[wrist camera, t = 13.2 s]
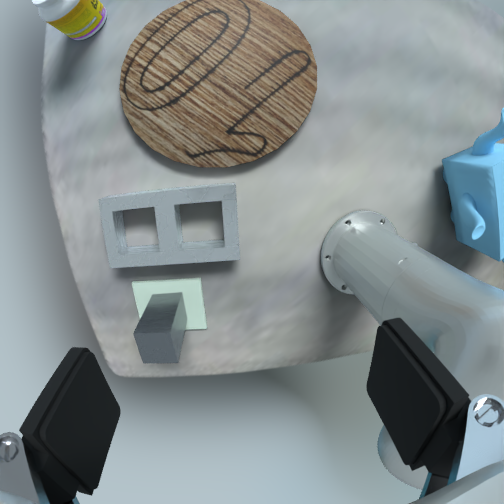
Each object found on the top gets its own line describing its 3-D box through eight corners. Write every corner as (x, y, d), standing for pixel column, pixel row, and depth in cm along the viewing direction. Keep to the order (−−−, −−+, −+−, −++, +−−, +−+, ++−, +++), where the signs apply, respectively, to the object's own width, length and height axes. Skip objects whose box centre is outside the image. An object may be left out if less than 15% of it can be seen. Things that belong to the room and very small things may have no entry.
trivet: (348, 72, 32) (353, 69, 30) (231, 206, 37) (231, 209, 35) (209, -23, 26) (208, -30, 24) (90, 102, 31) (84, 100, 29)
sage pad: (200, 277, 39) (200, 279, 39) (207, 326, 42) (206, 328, 41) (132, 281, 39) (131, 283, 38) (144, 328, 41) (143, 330, 41)
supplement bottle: (114, 21, 26) (78, -19, 14) (77, 49, 27) (30, 21, 15) (99, -2, 24) (64, -40, 12) (64, 25, 25) (21, -4, 13)
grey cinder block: (234, 182, 36) (235, 185, 32) (239, 250, 38) (240, 259, 35) (109, 195, 35) (98, 199, 31) (119, 259, 37) (110, 268, 34)
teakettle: (472, 252, 42) (526, 282, 28) (411, 214, 39) (477, 242, 25) (501, 165, 37) (557, 176, 23) (445, 110, 34) (512, 106, 20)
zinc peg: (182, 292, 39) (170, 332, 30) (187, 319, 40) (178, 362, 31) (152, 294, 39) (133, 333, 29) (158, 320, 40) (143, 363, 31)
